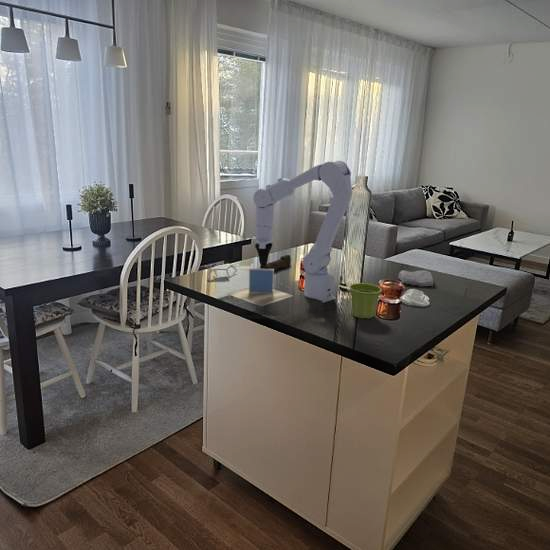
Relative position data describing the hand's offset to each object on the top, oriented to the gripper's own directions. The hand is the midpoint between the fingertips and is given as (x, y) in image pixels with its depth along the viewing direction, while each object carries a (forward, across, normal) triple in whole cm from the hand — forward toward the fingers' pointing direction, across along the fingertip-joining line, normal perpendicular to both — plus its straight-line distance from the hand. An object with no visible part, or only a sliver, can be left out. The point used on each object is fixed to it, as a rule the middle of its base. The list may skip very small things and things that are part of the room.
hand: (263, 264), depth 164 cm
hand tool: (+9, -25, +3) cm, 27 cm away
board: (+8, +10, 0) cm, 13 cm away
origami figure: (+9, -8, -14) cm, 19 cm away
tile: (+7, +8, 0) cm, 11 cm away
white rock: (+9, +7, +50) cm, 52 cm away
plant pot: (+8, +22, +32) cm, 40 cm away
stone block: (+9, -15, +56) cm, 58 cm away
